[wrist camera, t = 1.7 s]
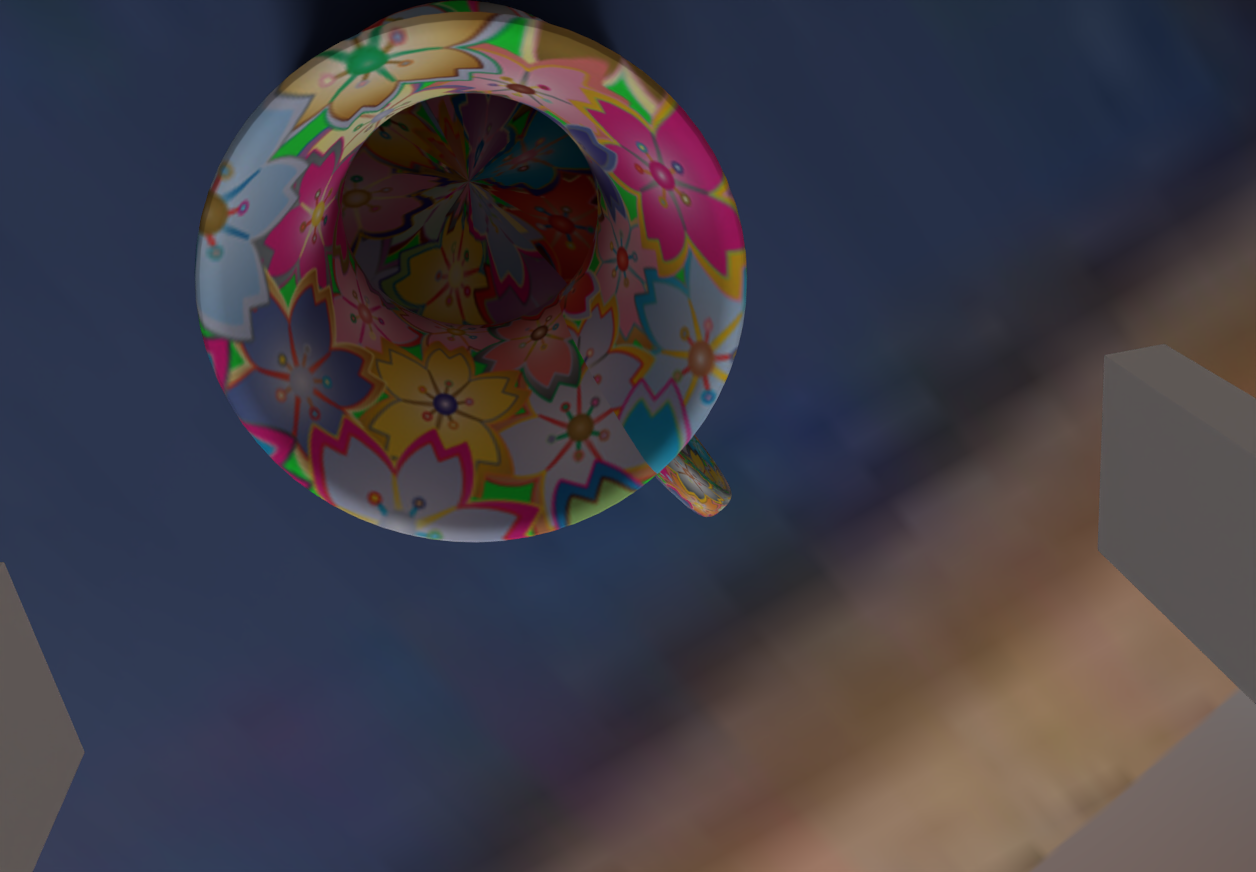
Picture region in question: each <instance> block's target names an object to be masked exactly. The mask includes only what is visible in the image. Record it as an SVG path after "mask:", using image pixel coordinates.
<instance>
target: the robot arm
mask: <svg viewBox="0 0 1256 872" xmlns="http://www.w3.org/2000/svg"><path fill="white" fill-rule="evenodd" d="M1098 551H1099V552H1100V553H1101V554H1102V555H1103V556H1104V557H1105V558H1106V559H1108V560H1109V561H1110V562H1111V563H1112V564H1113V565H1114V566H1115V567H1116V568H1117V569H1118V570H1119V571H1120V572H1121V573H1122V574H1123V575H1124V576H1125V577H1126V578H1127V579H1128V580H1129V581H1130V582H1131V583H1132V584H1133V585H1134V586H1135V587H1136V588H1137V589H1138V590H1139V591H1140V592H1141V593H1142V594H1143V595H1144V596H1145V597H1146V598H1147V599H1148V600H1149V601H1151V602H1152V603H1153V604H1154V605H1155V606H1156V607H1157V608H1158V609H1159V610H1160V611H1161V612H1162V613H1163V614H1164V615H1165V616H1166V617H1167V618H1168V619H1169V620H1170V621H1171V622H1172V623H1173V624H1174V625H1175V626H1176V627H1177V628H1178V629H1179V630H1180V631H1181V632H1182V633H1183V634H1184V635H1185V636H1186V637H1187V638H1188V639H1189V640H1190V641H1191V642H1192V643H1194V644H1195V645H1196V646H1197V647H1198V648H1199V649H1200V650H1201V651H1202V652H1203V653H1204V654H1205V655H1206V656H1207V657H1208V658H1209V659H1210V660H1211V661H1212V662H1213V663H1214V664H1215V665H1216V666H1217V667H1218V668H1219V669H1220V670H1221V671H1222V672H1223V673H1224V674H1225V675H1226V676H1227V677H1228V678H1229V679H1230V680H1231V681H1232V682H1233V683H1234V684H1235V685H1237V686H1238V687H1239V688H1240V689H1241V690H1242V691H1243V692H1244V693H1245V694H1246V695H1247V696H1248V697H1249V698H1250V699H1251V700H1252V701H1253V702H1254V703H1255V704H1256V399H1255V398H1254V397H1252V396H1250V395H1249V394H1247V393H1245V392H1244V391H1242V390H1240V389H1239V388H1237V387H1235V386H1234V385H1232V384H1230V383H1229V382H1227V381H1225V380H1224V379H1222V378H1220V377H1219V376H1217V375H1215V374H1214V373H1212V372H1210V371H1209V370H1207V369H1205V368H1204V367H1202V366H1200V365H1199V364H1197V363H1195V362H1194V361H1192V360H1190V359H1189V358H1187V357H1185V356H1184V355H1182V354H1180V353H1179V352H1177V351H1175V350H1174V349H1172V348H1170V347H1169V346H1167V345H1165V344H1162V345H1157V346H1151V347H1146V348H1141V349H1135V350H1130V351H1125V352H1119V353H1114V354H1109V355H1104V383H1103V413H1102V442H1101V472H1100V501H1099V531H1098ZM83 755H84V750H83V747H82V745H81V743H80V740H79V738H78V736H77V733H76V731H75V729H74V726H73V724H72V722H71V719H70V717H69V714H68V712H67V710H66V707H65V705H64V703H63V700H62V698H61V696H60V693H59V691H58V689H57V686H56V684H55V681H54V679H53V677H52V674H51V672H50V670H49V667H48V665H47V663H46V660H45V658H44V656H43V653H42V651H41V648H40V646H39V644H38V641H37V639H36V637H35V634H34V632H33V630H32V627H31V625H30V623H29V620H28V618H27V615H26V613H25V611H24V608H23V606H22V604H21V601H20V599H19V597H18V594H17V592H16V590H15V587H14V585H13V582H12V580H11V578H10V575H9V573H8V571H7V568H6V566H5V564H4V562H0V872H33V869H34V867H35V865H36V862H37V860H38V858H39V855H40V853H41V851H42V849H43V846H44V844H45V842H46V839H47V837H48V835H49V833H50V830H51V828H52V826H53V823H54V821H55V819H56V817H57V814H58V812H59V810H60V807H61V805H62V803H63V800H64V798H65V796H66V794H67V791H68V789H69V787H70V784H71V782H72V780H73V778H74V775H75V773H76V771H77V768H78V766H79V764H80V761H81V759H82V757H83Z"/></svg>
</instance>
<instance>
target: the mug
mask: <svg viewBox="0 0 1256 872" xmlns="http://www.w3.org/2000/svg"><path fill="white" fill-rule="evenodd" d="M195 291H196V303H197V310H198V316H199V323H200V328H201V332H202V336H203V339H204V343H205V347H206V351H207V354H208V356H209V359H210V362H211V365H212V367H213V370H214V373H215V375H216V377H217V379H218V382H219V384H220V386H221V388H222V390H223V392H224V394H225V396H226V398H227V400H228V401H229V403H230V405H231V406H232V408H233V409H234V411H235V413H236V414H237V416H238V417H239V419H240V421H241V422H242V423H243V425H244V426H245V427H246V429H247V430H248V431H249V433H250V434H251V435H252V436H253V438H254V439H255V440H256V442H257V443H258V444H259V445H260V446H261V447H262V448H263V449H264V451H265V452H266V453H267V454H268V455H269V456H270V457H271V458H272V459H273V460H274V461H275V462H276V463H277V464H278V465H279V466H280V467H281V468H282V469H284V470H285V471H286V472H287V473H288V474H289V475H290V476H291V477H293V478H294V479H295V480H296V481H298V482H299V483H300V484H302V485H303V486H304V487H306V488H307V489H308V490H310V491H311V492H312V493H314V494H315V495H317V496H319V497H320V498H322V499H324V500H325V501H327V502H328V503H330V504H332V505H333V506H335V507H337V508H339V509H341V510H343V511H345V512H347V513H349V514H351V515H353V516H355V517H357V518H359V519H362V520H365V521H367V522H370V523H372V524H375V525H378V526H380V527H383V528H386V529H390V530H393V531H397V532H400V533H404V534H408V535H413V536H418V537H423V538H428V539H436V540H445V541H455V542H489V541H504V540H511V539H518V538H524V537H530V536H534V535H538V534H542V533H547V532H551V531H554V530H557V529H560V528H563V527H566V526H569V525H572V524H575V523H577V522H580V521H582V520H584V519H587V518H589V517H591V516H594V515H596V514H598V513H600V512H602V511H604V510H605V509H607V508H609V507H611V506H613V505H615V504H617V503H618V502H620V501H621V500H623V499H624V498H626V497H628V496H629V495H631V494H632V493H634V492H635V491H637V490H638V489H639V488H641V487H642V486H643V485H644V484H646V483H647V482H648V481H649V480H651V479H652V478H653V477H654V476H655V477H656V478H657V479H658V480H659V481H660V482H661V483H662V484H663V485H664V486H665V487H666V488H667V489H668V490H669V491H670V492H671V493H672V494H673V495H674V496H676V497H677V498H678V499H679V500H680V501H681V502H682V503H684V504H685V505H686V506H687V507H689V508H690V509H691V510H693V511H694V512H696V513H697V514H699V515H702V516H705V517H709V516H713V515H715V514H717V513H718V512H720V511H721V510H722V509H723V508H724V507H725V506H726V505H727V504H728V503H729V501H730V499H731V495H732V494H731V489H730V487H729V485H728V483H727V481H726V479H725V477H724V476H723V474H722V473H721V471H720V470H719V468H718V467H717V465H716V464H715V462H714V461H713V459H712V458H711V456H710V455H709V453H708V452H707V451H706V449H705V448H704V447H703V445H702V444H701V442H700V441H699V440H698V438H697V437H696V436H695V433H696V431H697V430H698V429H699V427H700V426H701V424H702V423H703V422H704V420H705V419H706V417H707V415H708V414H709V412H710V410H711V408H712V407H713V405H714V403H715V402H716V400H717V398H718V396H719V394H720V392H721V390H722V387H723V385H724V383H725V381H726V379H727V377H728V374H729V372H730V369H731V366H732V363H733V360H734V357H735V355H736V352H737V348H738V344H739V339H740V335H741V331H742V327H743V320H744V313H745V306H746V291H747V268H746V252H745V245H744V239H743V232H742V227H741V223H740V219H739V215H738V211H737V207H736V203H735V201H734V198H733V195H732V192H731V190H730V187H729V184H728V182H727V179H726V177H725V175H724V173H723V171H722V169H721V167H720V164H719V162H718V160H717V158H716V156H715V154H714V153H713V151H712V149H711V148H710V146H709V145H708V143H707V141H706V140H705V138H704V137H703V135H702V133H701V132H700V130H699V129H698V128H697V127H696V125H695V124H694V123H693V121H692V120H691V119H690V118H689V116H688V115H687V114H686V112H685V111H684V110H683V109H682V108H681V107H680V106H679V105H678V103H677V102H676V101H675V100H674V99H673V98H672V97H671V96H670V95H669V94H668V93H667V92H666V91H665V90H664V89H663V88H662V87H661V86H659V85H658V84H657V83H656V82H655V81H654V80H652V79H651V78H650V77H649V76H648V75H647V74H645V73H644V72H643V71H642V70H640V69H639V68H638V67H636V66H635V65H633V64H632V63H630V62H629V61H628V60H626V59H625V58H623V57H622V56H620V55H619V54H617V53H615V52H613V51H612V50H610V49H608V48H606V47H604V46H603V45H601V44H599V43H597V42H595V41H594V40H591V39H589V38H587V37H584V36H582V35H580V34H577V33H575V32H572V31H570V30H568V29H565V28H562V27H558V26H555V25H552V24H549V23H547V22H545V21H543V20H542V19H540V18H537V17H535V16H533V15H530V14H528V13H526V12H523V11H520V10H517V9H514V8H511V7H508V6H504V5H499V4H494V3H489V2H481V1H471V0H450V1H441V2H432V3H428V4H423V5H418V6H414V7H411V8H408V9H405V10H402V11H399V12H396V13H394V14H392V15H390V16H387V17H385V18H383V19H381V20H379V21H377V22H376V23H374V24H372V25H371V26H369V27H367V28H365V29H364V30H363V31H361V32H360V33H359V34H357V35H355V36H353V37H351V38H348V39H346V40H344V41H342V42H339V43H337V44H336V45H334V46H332V47H331V48H329V49H327V50H326V51H324V52H322V53H320V54H319V55H317V56H315V57H314V58H312V59H311V60H310V61H308V62H307V63H305V64H304V65H303V66H301V67H300V68H299V69H297V70H296V71H295V72H293V73H292V74H291V75H289V76H288V77H287V78H286V79H285V80H284V81H283V82H282V83H281V84H280V85H279V86H278V87H276V88H275V89H274V90H273V91H272V92H271V93H270V94H269V95H268V96H267V97H266V98H265V99H264V101H263V102H262V103H261V104H260V105H259V106H258V107H257V109H256V110H255V111H254V112H253V113H252V114H251V116H250V117H249V118H248V119H247V121H246V122H245V124H244V125H243V127H242V128H241V129H240V131H239V132H238V134H237V135H236V137H235V138H234V140H233V141H232V143H231V145H230V147H229V148H228V150H227V152H226V154H225V156H224V158H223V159H222V161H221V163H220V165H219V167H218V170H217V172H216V175H215V177H214V179H213V182H212V184H211V187H210V189H209V192H208V195H207V199H206V202H205V206H204V209H203V213H202V216H201V221H200V227H199V233H198V238H197V244H196V259H195Z"/></svg>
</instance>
